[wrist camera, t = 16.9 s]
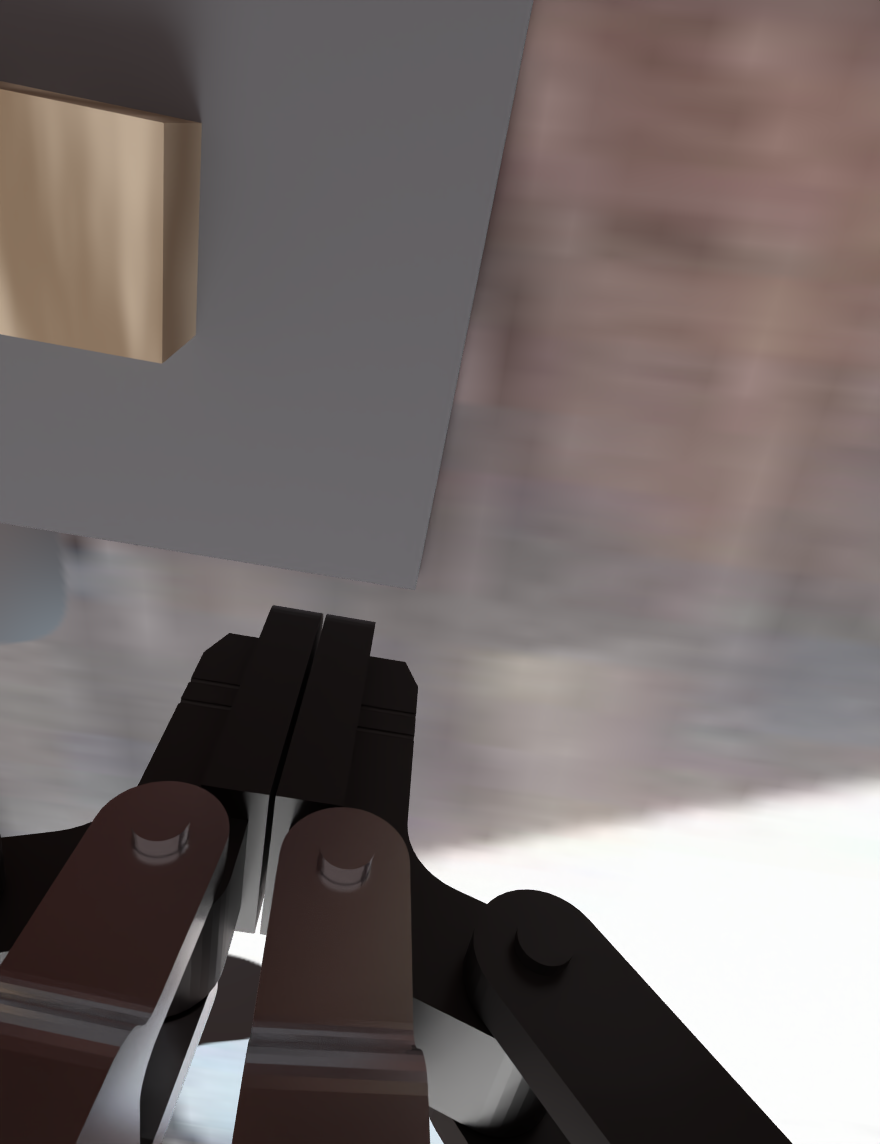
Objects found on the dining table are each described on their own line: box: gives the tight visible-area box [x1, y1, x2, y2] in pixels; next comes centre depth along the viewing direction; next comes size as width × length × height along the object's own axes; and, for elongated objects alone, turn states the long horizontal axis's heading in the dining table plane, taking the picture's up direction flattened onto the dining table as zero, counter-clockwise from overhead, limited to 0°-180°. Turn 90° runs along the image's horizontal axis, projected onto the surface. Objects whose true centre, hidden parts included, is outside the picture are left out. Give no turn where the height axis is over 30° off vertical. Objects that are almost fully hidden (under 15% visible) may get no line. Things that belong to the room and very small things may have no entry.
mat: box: [0, 0, 533, 590], centre depth 28 cm, size 22×26×1 cm
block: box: [0, 81, 202, 364], centre depth 25 cm, size 4×7×11 cm
